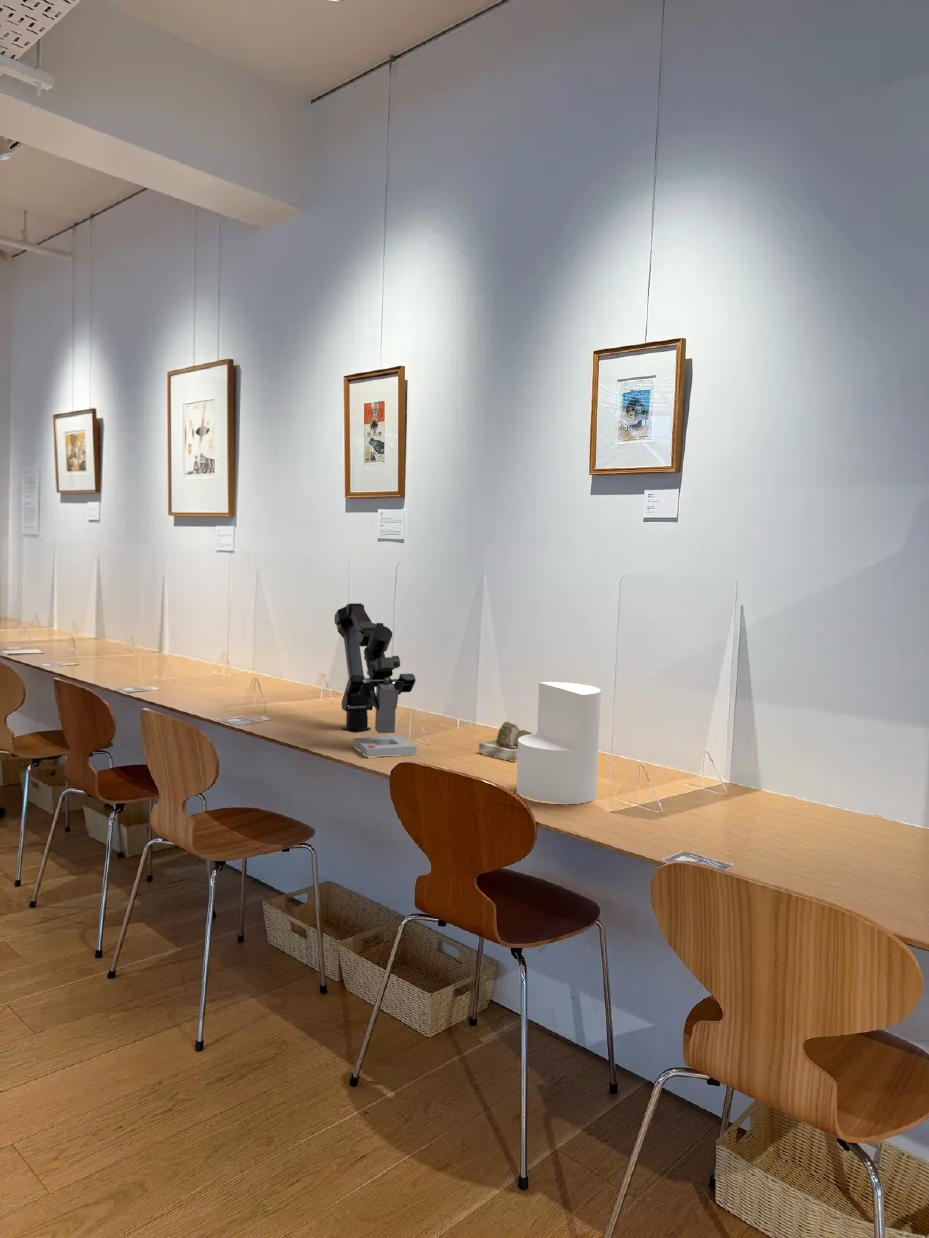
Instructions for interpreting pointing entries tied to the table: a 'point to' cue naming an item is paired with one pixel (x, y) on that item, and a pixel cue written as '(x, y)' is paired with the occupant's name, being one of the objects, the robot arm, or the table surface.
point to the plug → (385, 707)
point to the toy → (510, 735)
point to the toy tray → (498, 750)
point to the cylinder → (562, 745)
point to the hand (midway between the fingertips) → (386, 708)
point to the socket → (385, 746)
